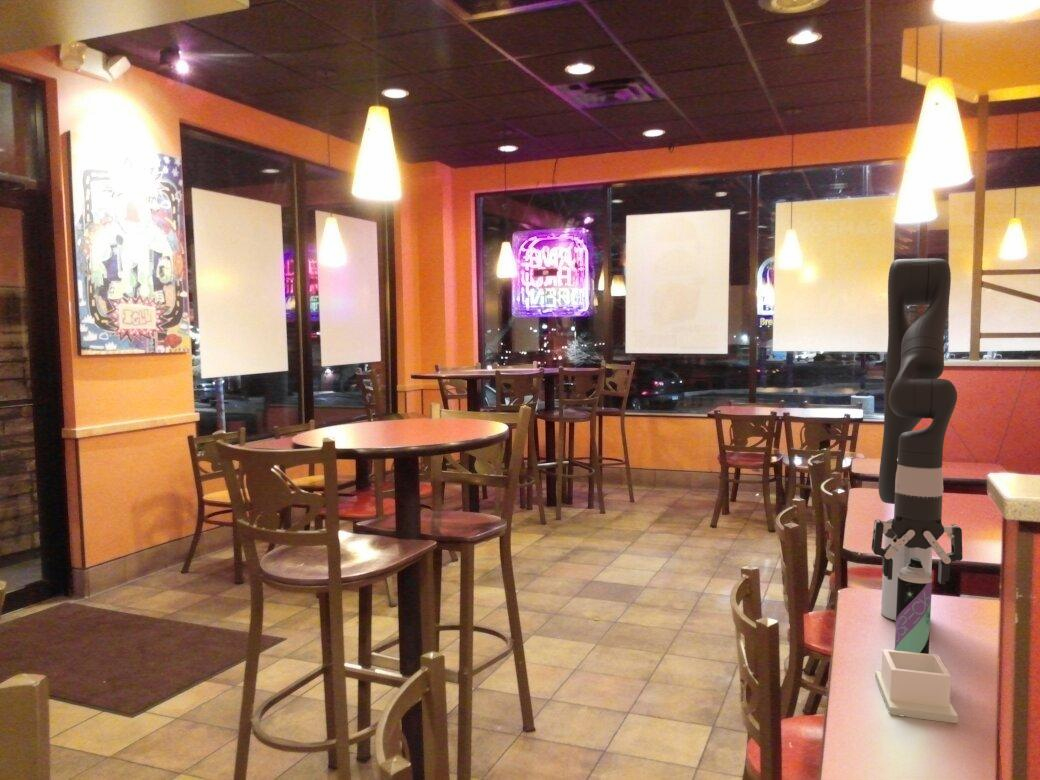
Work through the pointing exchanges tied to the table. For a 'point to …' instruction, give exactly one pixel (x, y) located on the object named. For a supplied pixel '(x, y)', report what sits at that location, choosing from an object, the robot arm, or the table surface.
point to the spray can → (913, 608)
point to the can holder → (916, 685)
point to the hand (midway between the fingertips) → (914, 580)
